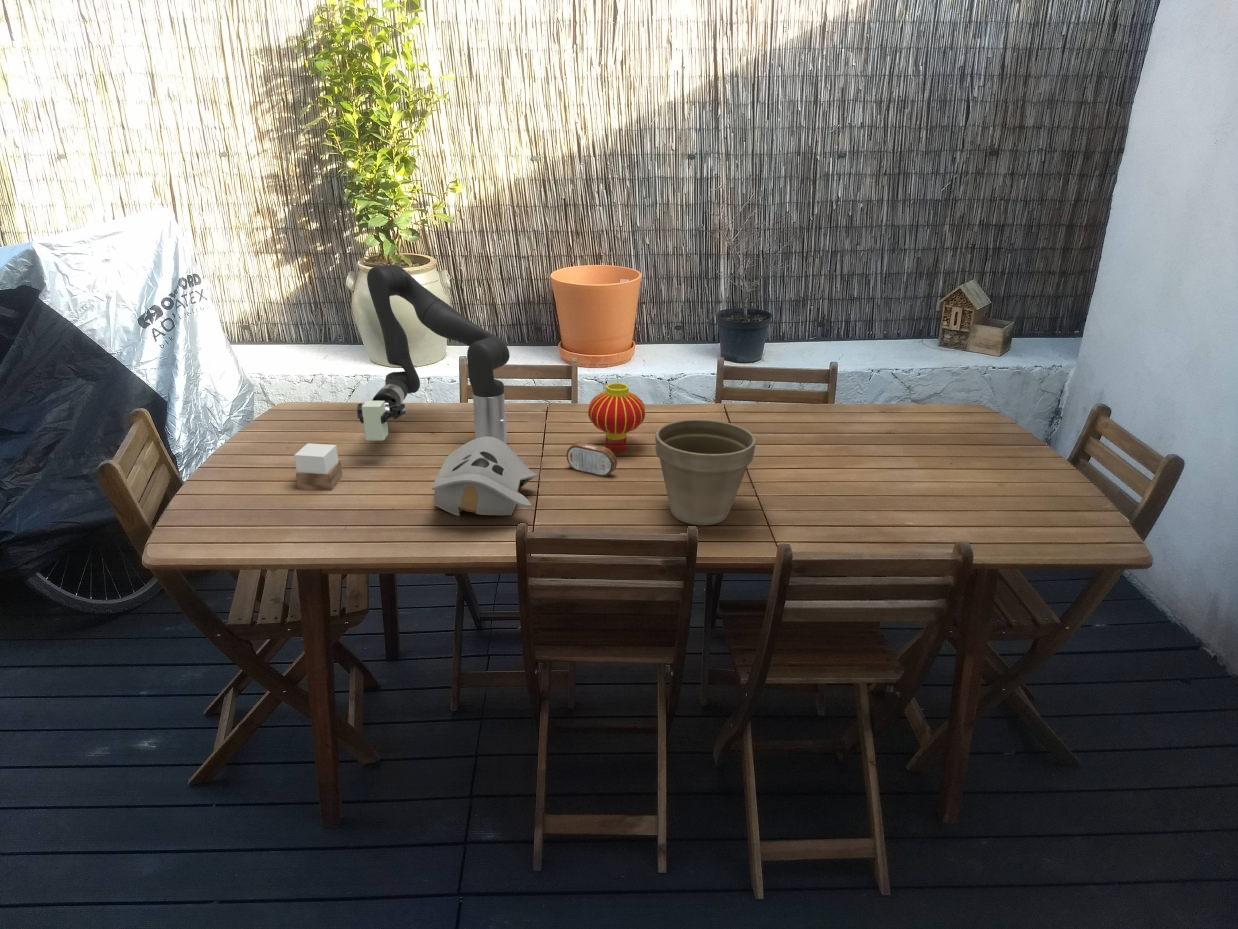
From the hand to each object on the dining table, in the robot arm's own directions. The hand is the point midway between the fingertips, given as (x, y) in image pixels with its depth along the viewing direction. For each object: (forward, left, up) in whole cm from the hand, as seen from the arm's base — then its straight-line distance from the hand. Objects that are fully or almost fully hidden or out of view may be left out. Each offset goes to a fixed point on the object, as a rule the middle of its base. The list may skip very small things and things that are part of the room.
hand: (372, 420), depth 222 cm
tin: (-61, 0, -14) cm, 62 cm away
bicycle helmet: (-34, +22, -14) cm, 43 cm away
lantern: (-68, -17, -14) cm, 71 cm away
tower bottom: (+12, +11, -14) cm, 22 cm away
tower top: (+12, +11, -9) cm, 19 cm away
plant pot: (-90, +23, -14) cm, 94 cm away
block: (0, -3, -6) cm, 7 cm away
